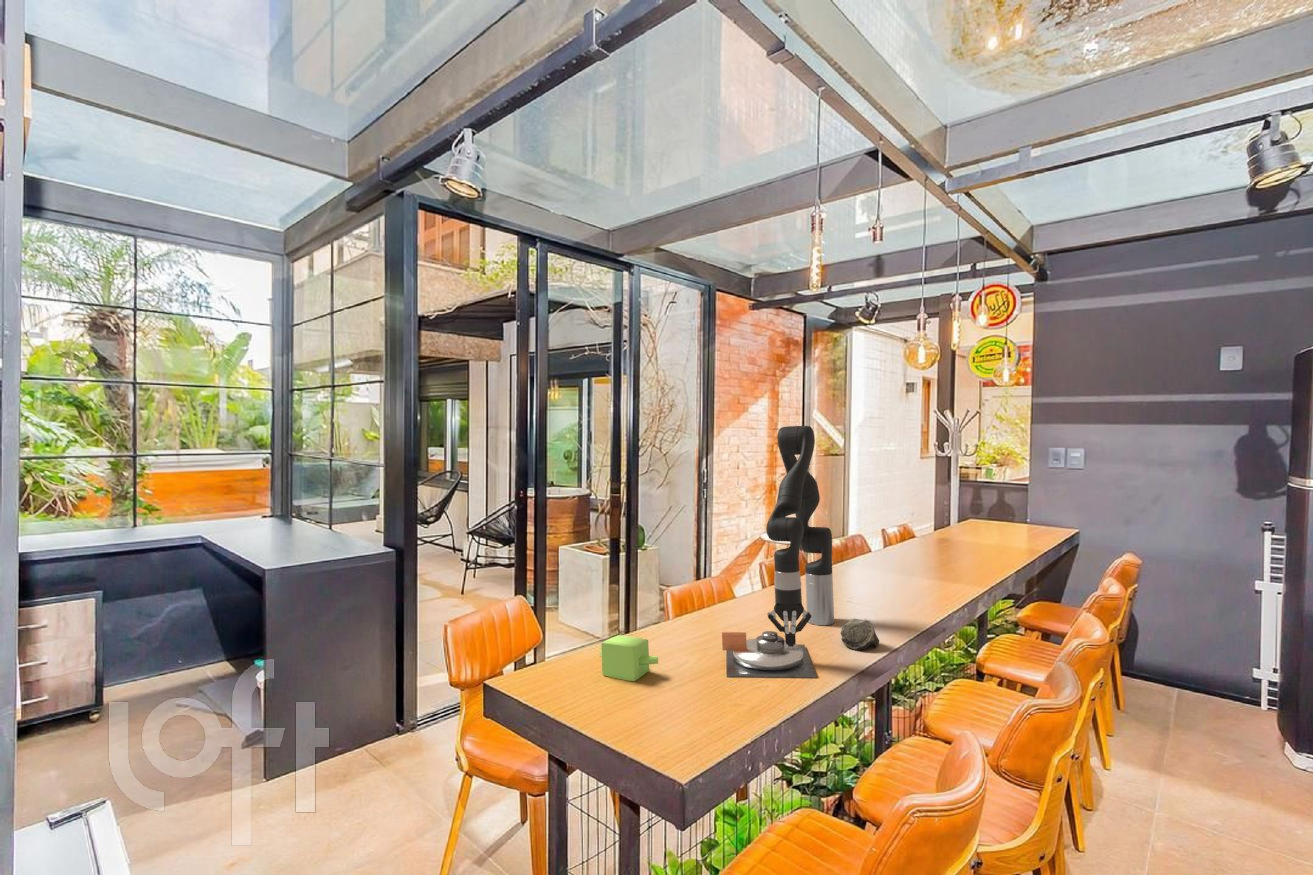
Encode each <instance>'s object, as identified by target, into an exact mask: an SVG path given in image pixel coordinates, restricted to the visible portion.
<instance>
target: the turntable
mask: <svg viewBox="0 0 1313 875" xmlns="http://www.w3.org/2000/svg"><path fill="white" fill-rule="evenodd" d="M721 638H722V639H721V640H722V641H721V642H722V651H726V650H733V658H734V660H735V661H736V662H737V663H739V664H741V665H743V666H746V667H750V668H754V669H761V670H781V669H788V668H792V667H795V666H797V665H799V664H800V663H801V662H802V661H803V650H802V648H801V647H800V646H799V645H800V644H797V643H795V645H794V647H788V645H787V644H786V642H785V639H784V649H785V650H784V652H782V653H779V654H764V653H761V652H759V651H757V646H756V638H749V639H747V632H742V631H741V632H735V631H734V632H732V631H731V632H728V631H727V632H724V631H723V632H721Z"/></svg>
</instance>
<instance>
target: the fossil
mask: <svg viewBox="0 0 1313 875" xmlns="http://www.w3.org/2000/svg"><path fill="white" fill-rule="evenodd" d="M840 635H841V642H842V643H843V645H844V646H845V647H847V648H848V649H850V650H851V651H864V650H866V649H868V648H869V647H870V646H871V645H873V646H874V648H878V647H879V643H880V639H879V637H878V635H877V633H876V630H875V628H874V625H873V623H872V621H871V620H868V619H866V618H865V619H859V618H852V619H850V620H849V621H848V622H846V623H844V624H843V625H842V626H841V630H840Z"/></svg>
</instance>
